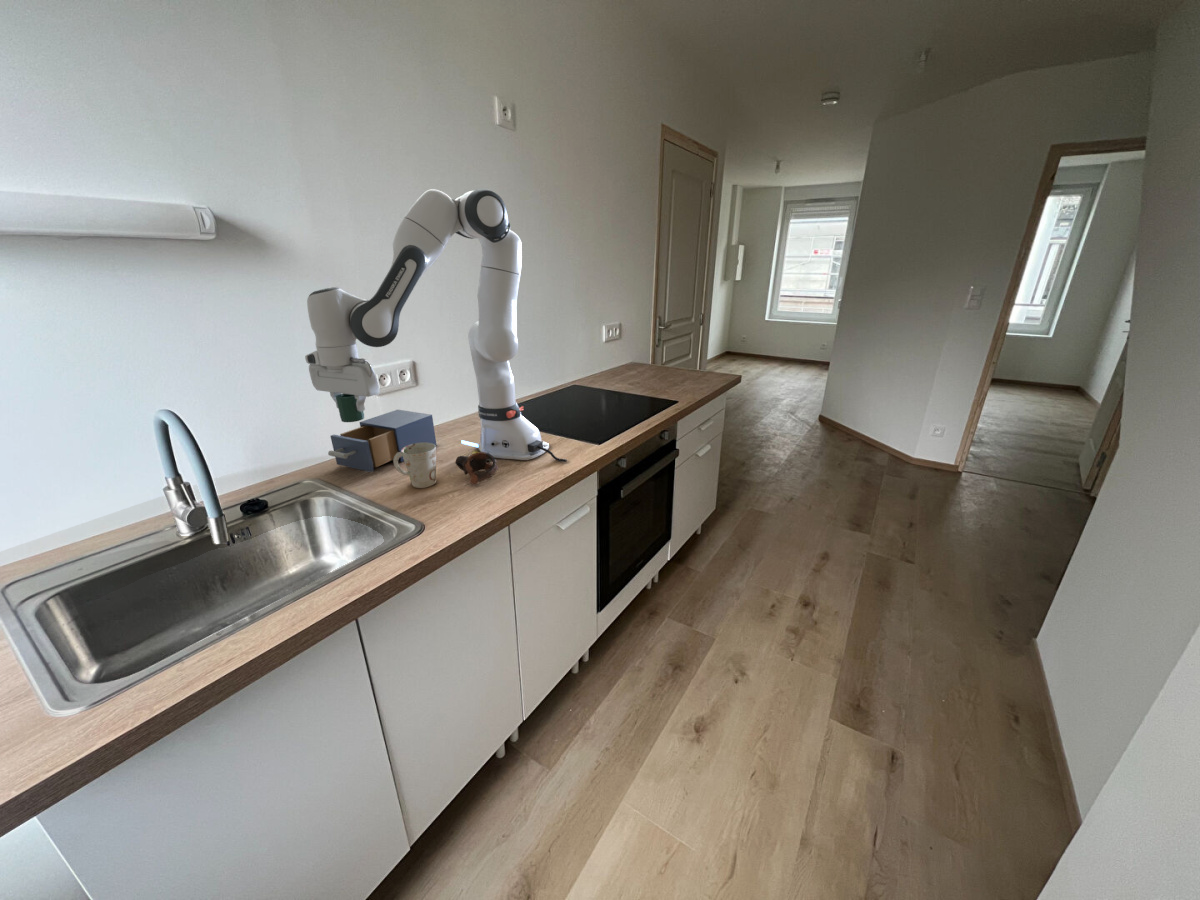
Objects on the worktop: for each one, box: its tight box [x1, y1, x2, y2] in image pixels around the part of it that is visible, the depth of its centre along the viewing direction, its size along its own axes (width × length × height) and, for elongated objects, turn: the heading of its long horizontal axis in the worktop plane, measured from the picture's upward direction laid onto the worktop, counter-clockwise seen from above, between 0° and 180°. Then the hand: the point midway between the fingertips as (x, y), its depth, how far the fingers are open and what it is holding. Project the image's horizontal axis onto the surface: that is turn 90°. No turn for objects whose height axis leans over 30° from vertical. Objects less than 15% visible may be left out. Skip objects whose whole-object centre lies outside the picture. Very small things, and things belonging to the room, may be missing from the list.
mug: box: [392, 443, 437, 489], centre depth 118 cm, size 8×13×10 cm, turn 78°
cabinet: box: [358, 409, 438, 463], centre depth 140 cm, size 15×15×11 cm
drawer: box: [327, 426, 398, 473], centre depth 129 cm, size 18×13×9 cm
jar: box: [336, 393, 365, 423], centre depth 118 cm, size 5×5×6 cm
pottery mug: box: [455, 451, 500, 486], centre depth 122 cm, size 12×10×8 cm
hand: (350, 409), depth 118 cm, fingers closed on jar, 5 cm apart
